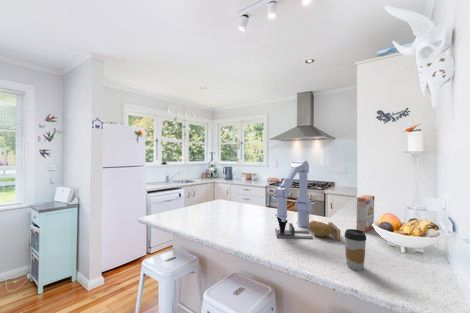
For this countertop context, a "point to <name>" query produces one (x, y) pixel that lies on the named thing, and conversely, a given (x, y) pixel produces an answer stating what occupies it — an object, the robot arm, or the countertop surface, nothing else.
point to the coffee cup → (355, 248)
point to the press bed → (335, 235)
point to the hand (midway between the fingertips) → (281, 230)
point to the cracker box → (365, 213)
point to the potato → (320, 228)
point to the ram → (287, 231)
